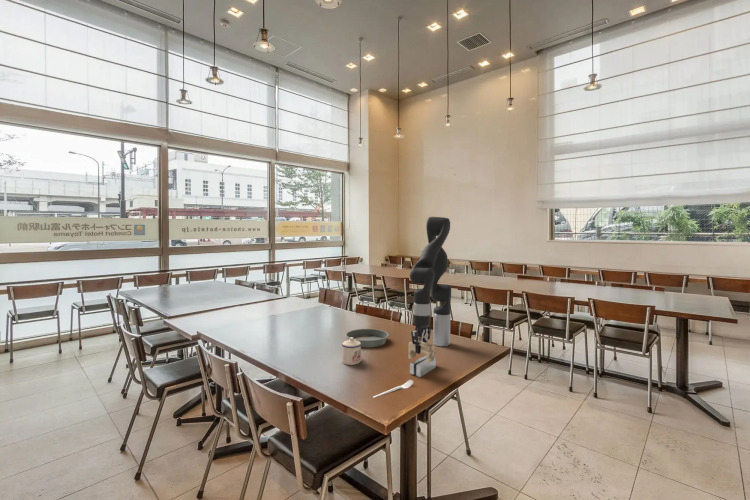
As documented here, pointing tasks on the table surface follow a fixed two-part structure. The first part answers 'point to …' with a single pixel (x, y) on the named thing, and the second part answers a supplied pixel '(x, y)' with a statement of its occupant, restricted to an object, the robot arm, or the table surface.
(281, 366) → the table surface
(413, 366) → the moving jaw
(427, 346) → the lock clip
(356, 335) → the cake pan
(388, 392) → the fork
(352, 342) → the teacup with lid
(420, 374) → the fixed jaw
